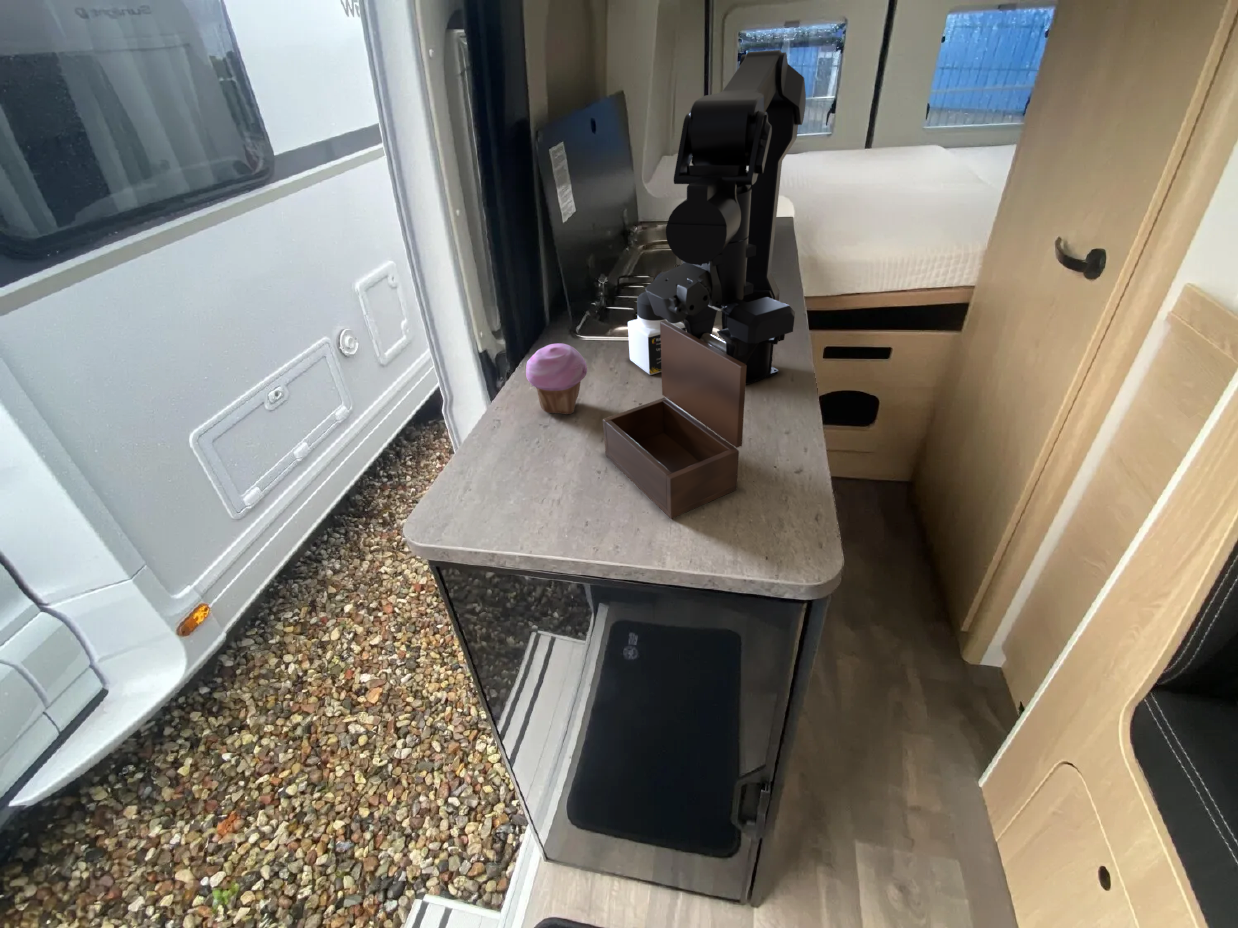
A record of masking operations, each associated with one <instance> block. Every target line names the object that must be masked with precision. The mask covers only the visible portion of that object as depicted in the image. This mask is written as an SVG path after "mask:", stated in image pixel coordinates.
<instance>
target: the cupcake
mask: <svg viewBox="0 0 1238 928" xmlns="http://www.w3.org/2000/svg"><path fill="white" fill-rule="evenodd" d="M525 366H526V367H525V376H526V379H527V381H528V382H529V384H530V385H531V386H532V387H534V388H535V389H536V392H537V397H538V401H539V402H538V403H539V405H540V408H541V410H543V412H545V413H549V414H563V415H572V414H573V413H574V412H575V407H576V403H577V400H578V397H579V394H580V389H581V381H582V380H584V378H586V376H587V374H588V366H587V362H586V360H585V359H584V357H583V355H582V354H581V353H580V352H579V351H578V350H577V349H576V348H575V347H573V346H572V345H569V344H567V343H560V342H559V343H551V344H548V345H545V346H544V347H541V348H539V349H538V350H536V351H535V352H534V354H532V355H531V357H530V358H529V359H528V360H527V362H526V365H525Z"/></svg>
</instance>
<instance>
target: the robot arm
mask: <svg viewBox="0 0 1238 928" xmlns="http://www.w3.org/2000/svg"><path fill="white" fill-rule="evenodd" d="M806 92H807V91H806V83H805V77H804V76H803V75H802V74H801V73H800V72H798V71H797V70H796V69H795V68H794V67H793V66H792V65H790V64H789V61H788V54H787V52H786V51H783V52H782V50H781V49H773V50H770V49H769V50H755V51H754V50H753V51H748V52H747V53H746V54H741V56H740V58H739V65H738V68H737V69H736V71H735V72H734V73H733V75H732V76H731V78H730V80H729V81H728V82H727V84H726V85H725V87H723V89H722V91H720V92H717V93H713V94H707V95H703V96H701V97H700V98H698V99H696V100H695V101H694V102H693V103H692V105H691V107H690V109H689V113H686V114H685V116H684V119H683V122H682V128H681V135H680V140H679V146H678V152H677V156H676V157H677V158H676V163H675V169H674V174H673V185H686V199H684V200H683V201H682V202H680V203H679V204H678V205H677V206H676V207H675V208H674V209H673V210H672V211H671V213H670V214H669V217H668V219H667V223H666V226H665V237H666V242H667V244H668V247H669V249H670V250H671V253H673V255H674V256H675V257H677V258H678V260H680V261H682V263H681V264H680V265H677V266H676V267H672V268H671V269H669V270H666V271H661V272H659V273H658V274H657V275H656V277H655V279H654V280H653V281H651V282H650V283H649V284H647V285H646V287H645V292H647V295H648V298H649V300H650V303H651V306H652V308H653V311H654V314H655V315H657V316H661V317H663V318H665V319H666V320H667V321H668V322H670V323H679V322H681V323H683V324H684V326H685V328H686V332H688V333H689V334H691V335H693V336H695V337H697V338H698V339H700V338H701V336H702V335H703V334H704V333H710V334H711V335H713V330H714V325H715V322H716V317H717V312H721V329H720V330H717V331H716V333H717V334H718V336H720V337H721V338H722V340H723V341H725V342H726V354H728V355H729V356H731V357H733V358H735V359H737V360H738V361H740V362H742V363H744V364H746V365H747V367H746V384H745V385H750V384H753V383H756V382H758V381H761V380H764V379H766V378H770V377H772V376H775V375H778V374H779V369H778V368H775V367H774V366H773V355H774V345H778V344H779V342H781V341H784V340H785V337H786V335H787V334H790V333H793V332H794V325H795V319H796V311H795V310H794V309H793V308H792V306H790V305H789V304H786V303H784V302H781V301H780V293H781V292H780V288H779V286H778V284H777V282H776V280H775V277H774V276H773V274H772V265H773V256H774V246H775V245H774V244H775V234H776V225H777V216H778V215H777V214H778V207H779V206H778V205H779V195H780V185H781V177H782V176H781V175H782V166H783V160H784V159H785V157H786V156H787V154H788V152H789V151H790V150H791V148H792V147H793V145H794V143H795V142H796V140H797V139H798V132H799V131H798V130H799V126H802V125H803V123H804V118H805V112H806V101H807V94H806ZM747 167H748V169H747Z"/></svg>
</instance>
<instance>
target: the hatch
mask: <svg viewBox="0 0 1238 928" xmlns="http://www.w3.org/2000/svg"><path fill="white" fill-rule="evenodd" d="M660 335H661V368H662V372H661V392H662V393H661V394H662V396H663V397H665V398H666V399H667V400H669V401H670V402H672V403H673V404H675V405H676V406H677V407H679V408H680V409H682V410H683V411H684V412H686V413H687V414H688V415H690V416H691V417H693V418H694V419H695V420H697V421H698V422H700V423H701V424H702V425H704V426H705V427H707V428H708V429H709V430H711V431H712V432H714V433H715V434H716V435H718V436H719V437H721V438H722V439H723V440H725V441H726V442H728V443H729V444H730V445H732V446H733V447H734V448H736V449H738V448H740V447H743V432H744V416H745V402H746V401H745V397H746V385H747V384H746V367H747V365H746V364H744V363H742V362H740V361H738V360H737V359H735V358H733V357H731V356H729V355H728V354H726V341H725V340H724V339H721V338H719V337H717V336H715V335H713V334H712V335H711V334H710V333H704V334H703V335H702V336H701V338H700V339H698V338H697V337H695V336H693V335H691V334H689V333H688V332H687V331H684V330H682V329H680V328H678V327H677V326H675V325H673V324H671V323H669V322H668V321H666V320H664V321H661V322H660Z"/></svg>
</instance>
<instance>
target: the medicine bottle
mask: <svg viewBox="0 0 1238 928" xmlns="http://www.w3.org/2000/svg"><path fill="white" fill-rule="evenodd" d="M636 311H637V318H636V319H632V320H629V321H627V333H628V334H627V335H628V336H627V337H628V349H629V351H628V352H629V353H628V354H629V360H630V361H631V362H632V363H634V364H635V365H636V366H637V367H639V368H640V369H641V370H642V371H644V372H645V373H646V374H647V375H649V376H652V375H655V374H660V373H662V368H661V335H660V322H661V321H664V320H666V319H665V318H663V317H661V316H657V315H655V314H654V311H653V308H652V306H651V303H650V300H649V298H648V295H647V292H646V291H644V292H641V293H640V294H639V295H638V296H637V297H636ZM666 321H667V320H666ZM669 323H670V322H669ZM671 324H673V325H675V326H677V327H678V328H680V329H682V330H684V331H686V328H685V326H684V323H683V322H682V321H681V322H679V323H671ZM686 332H687V331H686Z"/></svg>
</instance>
